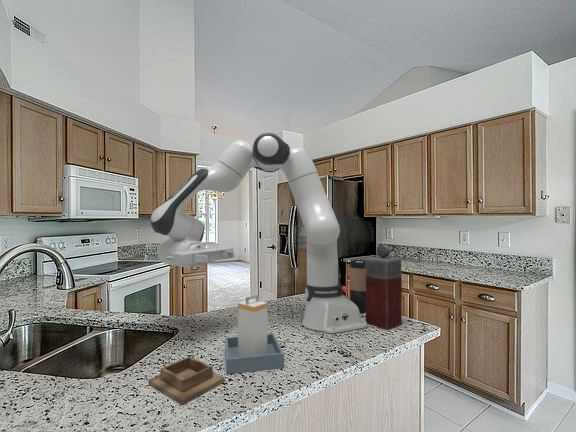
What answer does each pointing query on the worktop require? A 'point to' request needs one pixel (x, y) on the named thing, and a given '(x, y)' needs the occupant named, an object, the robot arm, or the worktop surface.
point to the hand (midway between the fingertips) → (221, 256)
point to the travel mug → (358, 284)
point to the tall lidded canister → (252, 327)
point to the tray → (253, 357)
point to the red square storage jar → (383, 290)
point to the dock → (186, 380)
